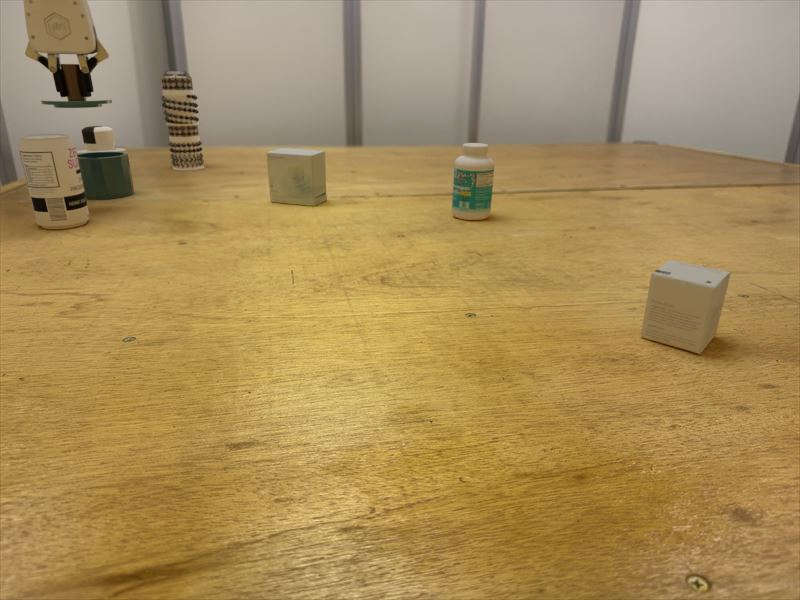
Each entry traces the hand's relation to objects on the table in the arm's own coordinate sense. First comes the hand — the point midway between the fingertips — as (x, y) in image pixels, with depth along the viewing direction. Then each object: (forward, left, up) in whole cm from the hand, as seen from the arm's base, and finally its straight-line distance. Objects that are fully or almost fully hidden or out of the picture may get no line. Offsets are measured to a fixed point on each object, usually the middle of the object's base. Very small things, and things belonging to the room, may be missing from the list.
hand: (76, 95), depth 101 cm
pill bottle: (+70, -22, -21) cm, 76 cm away
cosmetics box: (+39, -2, -21) cm, 44 cm away
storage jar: (-1, +14, -21) cm, 25 cm away
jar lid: (0, 0, -1) cm, 1 cm away
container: (-4, +28, -21) cm, 35 cm away
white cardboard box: (+72, -76, -21) cm, 107 cm away
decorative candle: (+13, +47, -21) cm, 53 cm away
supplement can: (-3, -12, -21) cm, 24 cm away
